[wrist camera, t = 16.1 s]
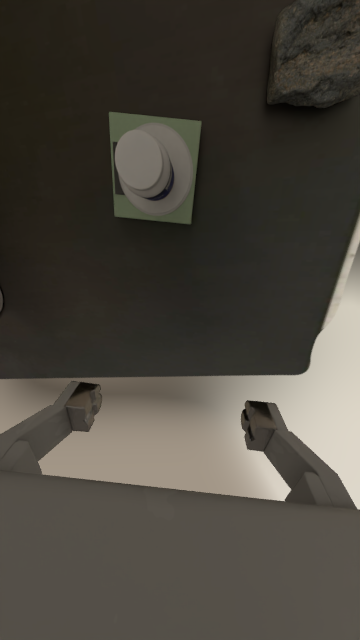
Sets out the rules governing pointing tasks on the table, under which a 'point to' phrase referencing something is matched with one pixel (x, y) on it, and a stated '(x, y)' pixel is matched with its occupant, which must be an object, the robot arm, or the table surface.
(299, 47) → the rock
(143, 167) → the pill bottle
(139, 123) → the scale
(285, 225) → the table surface
